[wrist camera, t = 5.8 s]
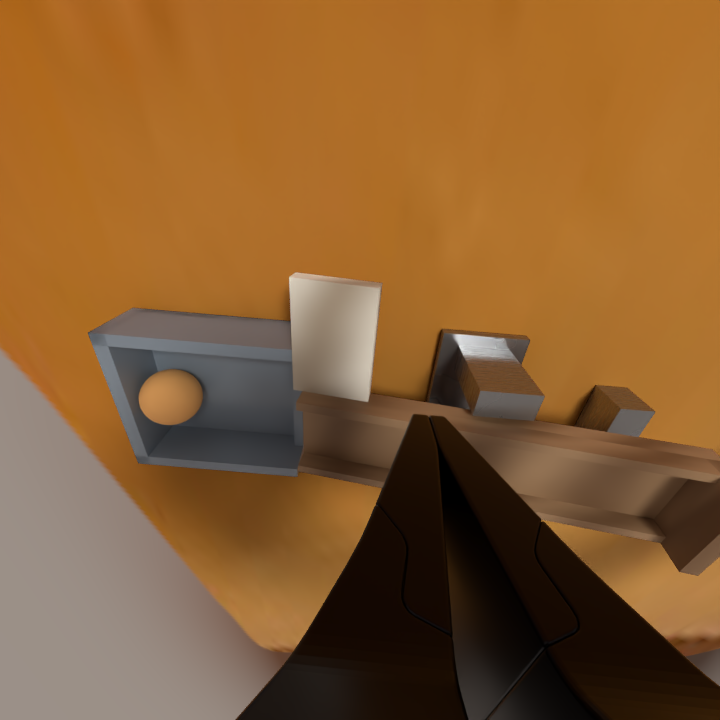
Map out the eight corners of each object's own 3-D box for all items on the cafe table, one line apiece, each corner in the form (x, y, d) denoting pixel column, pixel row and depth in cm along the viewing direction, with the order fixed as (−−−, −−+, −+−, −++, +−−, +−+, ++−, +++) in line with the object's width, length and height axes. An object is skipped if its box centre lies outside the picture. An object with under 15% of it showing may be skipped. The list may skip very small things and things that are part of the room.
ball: (113, 411, 18) (145, 377, 21) (164, 445, 19) (187, 409, 22) (151, 379, 17) (179, 349, 20) (202, 418, 19) (221, 384, 22)
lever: (782, 324, 13) (918, 380, 10) (643, 498, 19) (696, 577, 15) (303, 266, 16) (265, 293, 12) (306, 436, 21) (280, 491, 18)
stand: (652, 346, 19) (737, 399, 15) (581, 464, 24) (628, 530, 20) (316, 318, 19) (298, 362, 15) (315, 441, 24) (301, 503, 20)
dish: (305, 322, 19) (292, 350, 16) (307, 438, 24) (297, 476, 21) (132, 307, 19) (87, 332, 16) (168, 426, 24) (138, 463, 21)
